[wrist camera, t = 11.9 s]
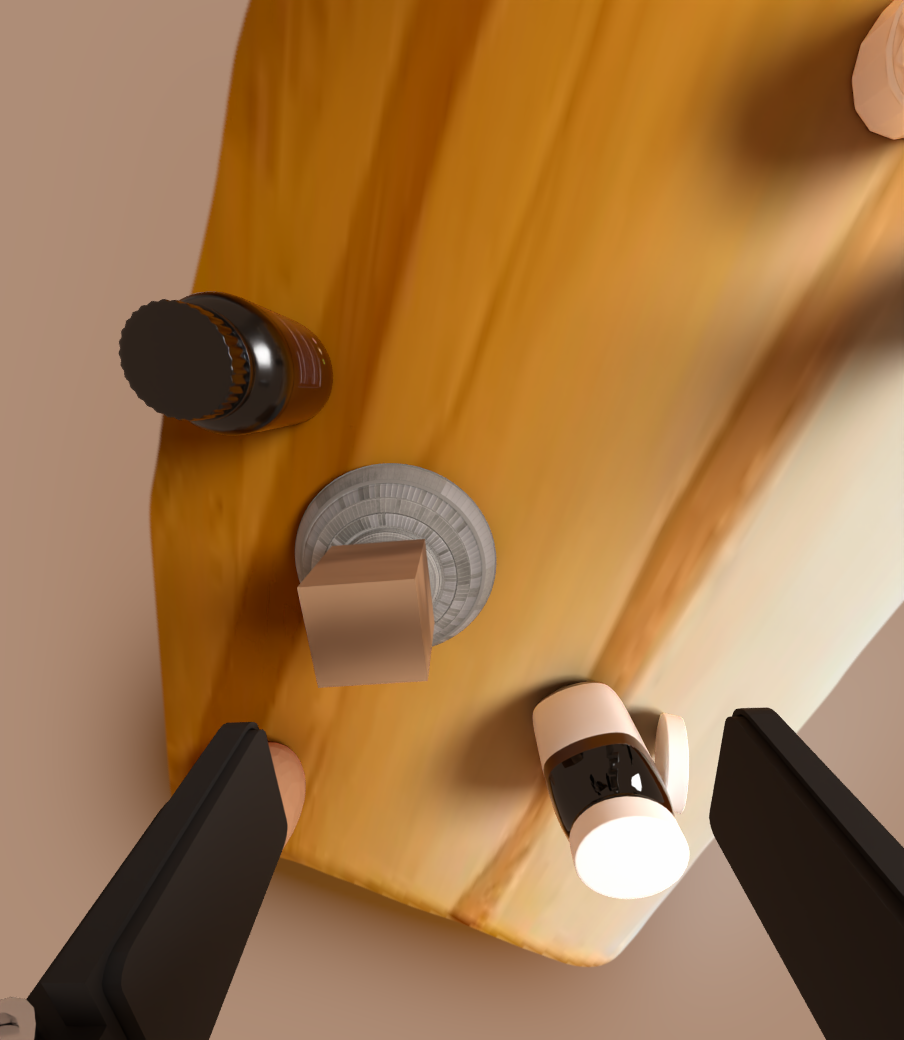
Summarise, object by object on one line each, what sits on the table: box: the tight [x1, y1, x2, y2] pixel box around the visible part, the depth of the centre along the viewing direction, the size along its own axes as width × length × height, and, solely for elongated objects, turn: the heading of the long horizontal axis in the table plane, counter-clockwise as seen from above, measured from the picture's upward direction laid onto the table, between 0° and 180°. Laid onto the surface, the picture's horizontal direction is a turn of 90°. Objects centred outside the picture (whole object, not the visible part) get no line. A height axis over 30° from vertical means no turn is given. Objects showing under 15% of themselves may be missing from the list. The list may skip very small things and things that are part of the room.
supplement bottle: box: [119, 292, 333, 436], centre depth 23 cm, size 7×7×12 cm
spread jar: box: [533, 681, 689, 899], centre depth 31 cm, size 12×11×12 cm
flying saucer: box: [295, 463, 496, 646], centre depth 31 cm, size 15×15×6 cm
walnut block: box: [297, 539, 435, 688], centre depth 25 cm, size 6×6×6 cm
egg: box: [268, 742, 306, 850], centre depth 33 cm, size 8×8×11 cm
